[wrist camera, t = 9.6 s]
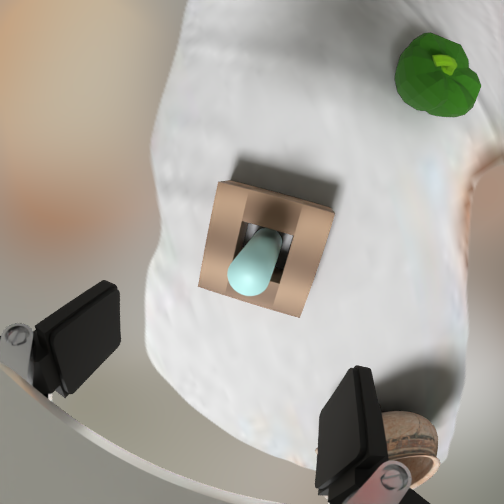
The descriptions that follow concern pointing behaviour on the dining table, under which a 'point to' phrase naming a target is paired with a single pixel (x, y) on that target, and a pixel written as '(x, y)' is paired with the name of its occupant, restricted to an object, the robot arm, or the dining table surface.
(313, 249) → the socket
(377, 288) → the dining table surface
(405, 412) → the cooking pot
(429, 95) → the bell pepper
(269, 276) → the peg
